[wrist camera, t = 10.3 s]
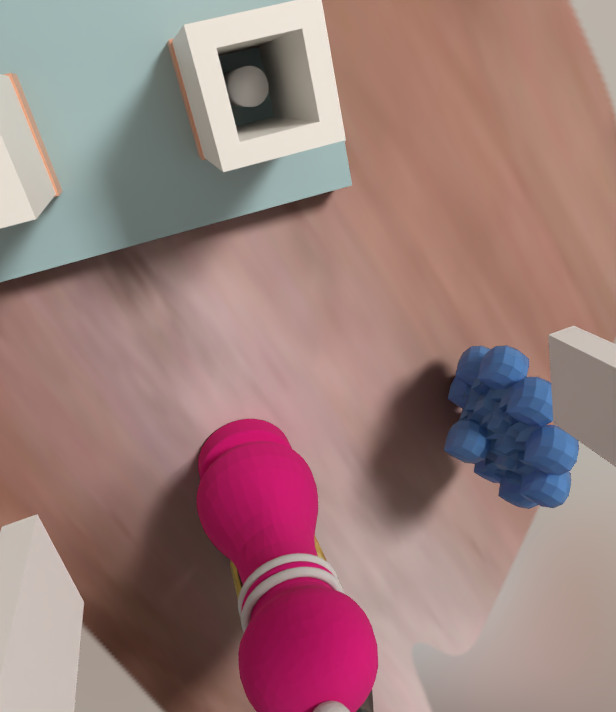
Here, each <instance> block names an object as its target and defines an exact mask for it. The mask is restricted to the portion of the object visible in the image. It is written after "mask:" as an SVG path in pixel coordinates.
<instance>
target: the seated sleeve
mask: <svg viewBox="0 0 616 712" xmlns="http://www.w3.org/2000/svg"><path fill="white" fill-rule="evenodd" d="M61 193H62V189H61V186H60V184H59V181H58V178H57V176H56V173H55V171H54V168H53V166H52V163H51V161H50V158H49V155H48V153H47V150H46V148H45V145H44V143H43V140H42V138H41V135H40V133H39V130H38V127H37V125H36V122H35V120H34V117H33V115H32V112H31V110H30V107H29V105H28V102H27V99H26V97H25V94H24V92H23V89H22V87H21V84H20V82H19V79H18V77H17V74H13V73H8V74H4V75H2V74H0V229H1V228H4V227H8V226H12V225H16V224H20V223H23V222H27V221H31V220H35V219H37V218H38V216H39V215H40V214H41V213H42V211H43V210H44V209H45V208H46V206H47V205H48V204H49V202H50V201H51V200H52V199H53V197H56V196H59V195H60V194H61Z"/></svg>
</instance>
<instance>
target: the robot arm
mask: <svg viewBox="0 0 616 712" xmlns="http://www.w3.org/2000/svg"><path fill="white" fill-rule="evenodd" d="M549 353H550V371H551V389H552V407H553V423H554V424H555V425H557V426H558V427H560V428H561V429H562V430H564V431H565V432H567V433H568V434H570V435H571V436H572V437H574V438H575V439H577V440H578V441H580V442H581V443H582V444H584V445H585V446H587V447H588V448H590V449H591V450H592V451H594V452H595V453H597V454H598V455H600V456H601V457H602V458H604V459H606V460H607V461H608V462H610V463H611V464H613V465H614V466H615V467H616V344H614V343H611V342H609V341H607V340H605V339H602V338H600V337H598V336H596V335H593V334H591V333H589V332H587V331H585V330H582V329H580V328H578V327H576V326H572V327H569V328H566V329H563V330H560V331H557V332H554V333H552V334H549ZM83 608H84V601H83V599H82V597H81V596H80V594H79V592H78V590H77V588H76V586H75V584H74V582H73V580H72V579H71V577H70V575H69V573H68V571H67V569H66V567H65V565H64V564H63V562H62V560H61V558H60V556H59V554H58V552H57V550H56V549H55V547H54V545H53V543H52V541H51V539H50V537H49V535H48V534H47V532H46V530H45V528H44V526H43V524H42V522H41V520H40V518H39V517H38V515H34V516H31V517H28V518H25V519H23V520H20V521H17V522H14V523H11V524H8V525H5V526H3V527H2V529H1V532H0V712H74V709H75V698H76V686H77V676H78V663H79V653H80V642H81V631H82V619H83Z"/></svg>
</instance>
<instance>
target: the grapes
mask: <svg viewBox="0 0 616 712" xmlns="http://www.w3.org/2000/svg"><path fill="white" fill-rule="evenodd" d="M528 368H529V359H528V358H527V357H526V356H525V355H524V354H523V353H521V352H520V351H519V350H517V349H515V348H512V347H509V346H496V347H494V348H493V349H489V348H487V347H484V346H472V347H470V348H469V349H467V350H466V351H465V352H463V354H462V356H461V358H460V360H459V362H458V366H457V370H456V375H455V376H456V377H455V378H454V380H453V382H452V384H451V386H450V391H449V395H448V400H450V401H451V402H452V403H454V404H455V405H457V406H458V407H460V408H463V410H462V413H461V416H460V418H459V420H458V422H456V423H454V424H453V425H452V427H451V429H450V430H449V432H448V434H447V438H446V442H445V447H444V451H445V452H446V453H448V454H449V455H451V456H453V457H454V458H456V459H459V460H461V461H463V462H465V463H472V464H475V467H474V472H475V473H476V474H478V475H479V476H481V477H483V478H485V479H487V480H489V481H491V482H493V483H500V487H499V496H500V497H501V498H503V499H504V500H505V501H507V502H509V503H511V504H513V505H515V506H518V507H521V508H528V509H530V508H532V507H535V506H537V505H540V506H543V507H550V508H554V507H557V506H559V505H562V504H563V503H564V502H565V500H566V499H567V497H568V496H569V491H570V486H571V473H570V472H569V471H570V470H571V469H572V467H573V466H574V464H575V463H576V461H577V456H578V450H579V445H578V440H577V439H575V438H574V437H572V436H571V435H570V434H568V433H567V432H565V431H564V430H562V429H561V428H560V427H558V426H556V425H547V424H548V423H550V422H552V421H553V407H552V389H551V383H550V382H549V381H546V380H544V379H541V378H539V377H527V373H528Z"/></svg>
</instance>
